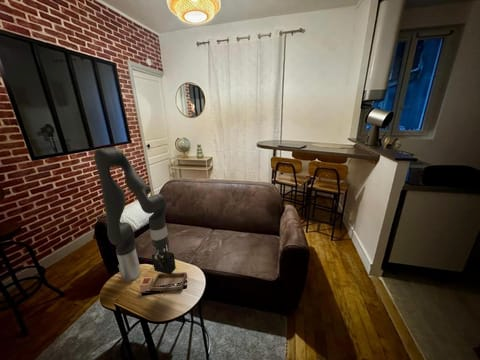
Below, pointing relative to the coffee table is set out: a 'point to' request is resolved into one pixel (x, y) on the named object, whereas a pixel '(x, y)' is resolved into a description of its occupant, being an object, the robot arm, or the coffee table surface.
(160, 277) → the trough
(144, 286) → the orange open cube box
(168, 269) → the electronic device
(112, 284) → the coffee table surface
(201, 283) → the coffee table surface
